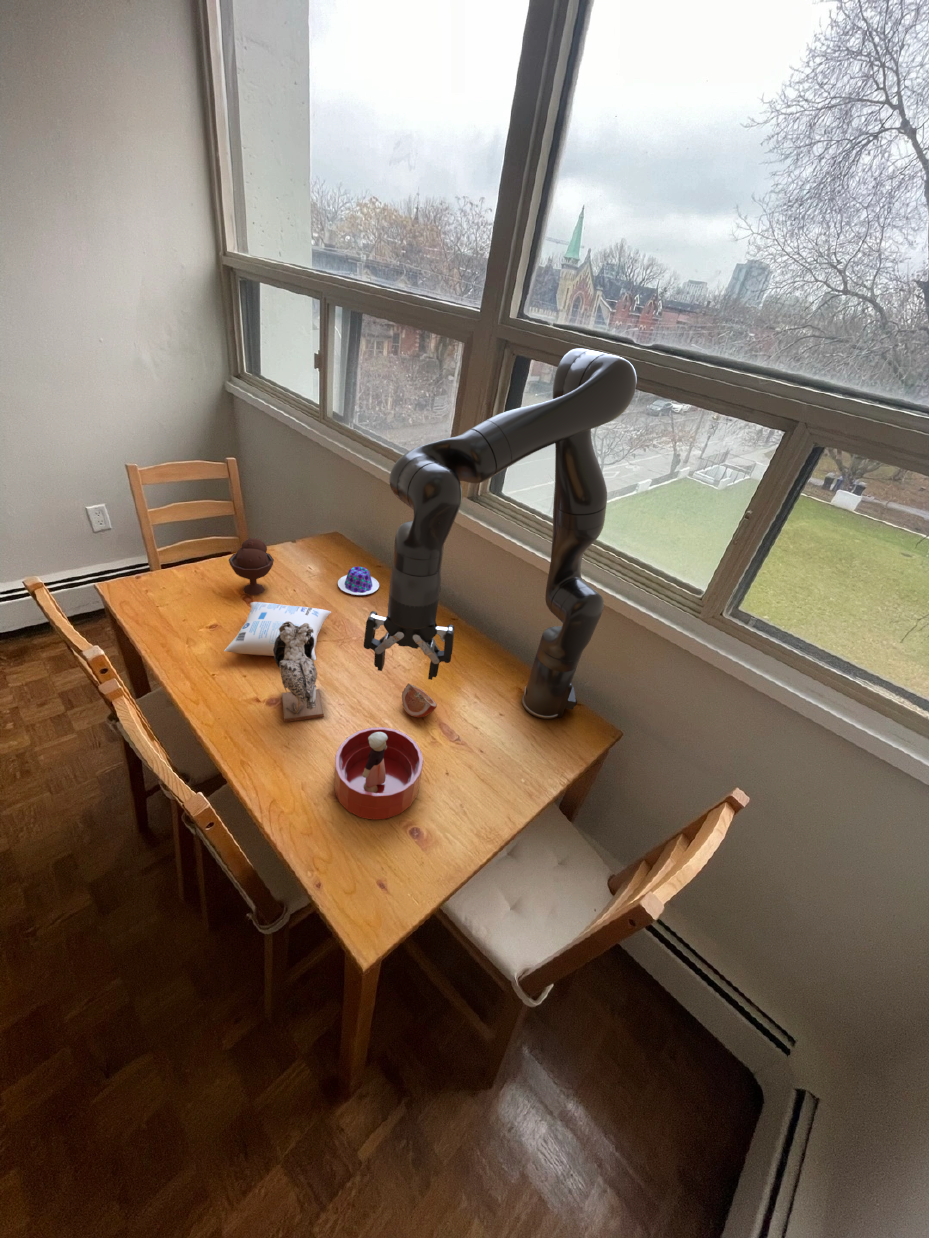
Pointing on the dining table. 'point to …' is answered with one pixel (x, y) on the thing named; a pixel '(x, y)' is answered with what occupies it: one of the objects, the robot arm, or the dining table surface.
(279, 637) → the stuffed bird
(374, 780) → the grandmother figurine
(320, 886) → the dining table surface
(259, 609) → the pouch
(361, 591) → the pudding
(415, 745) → the red bowl
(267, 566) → the ice cream bowl
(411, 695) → the fruit slice
